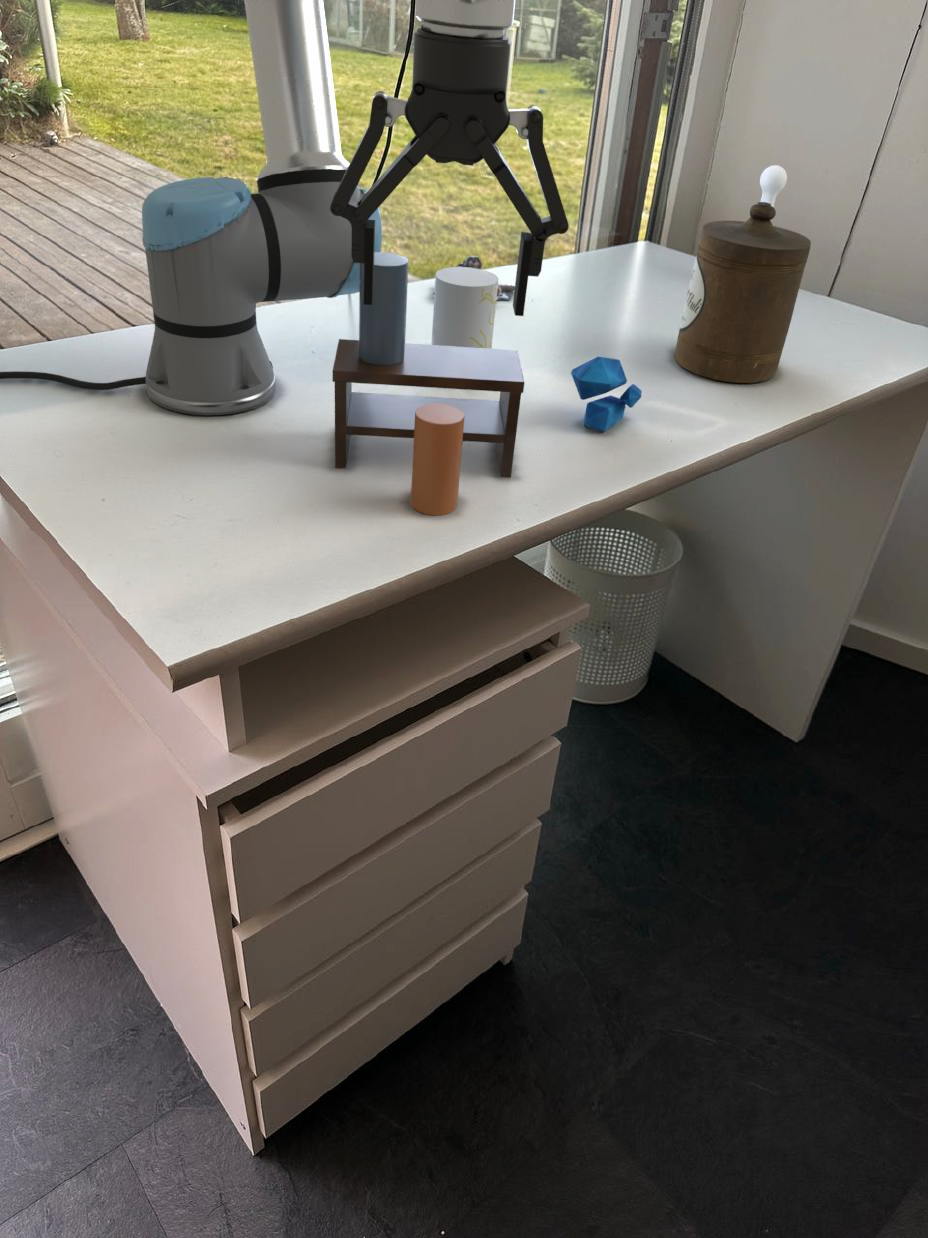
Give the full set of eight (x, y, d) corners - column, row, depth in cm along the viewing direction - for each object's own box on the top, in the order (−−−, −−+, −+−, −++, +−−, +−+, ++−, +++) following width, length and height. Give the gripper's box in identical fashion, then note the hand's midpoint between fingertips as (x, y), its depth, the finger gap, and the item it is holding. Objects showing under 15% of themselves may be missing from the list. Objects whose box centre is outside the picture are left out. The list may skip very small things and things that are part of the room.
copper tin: (410, 491, 97) (415, 401, 91) (456, 493, 97) (463, 404, 91) (410, 514, 93) (415, 422, 87) (457, 516, 93) (465, 425, 87)
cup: (483, 381, 122) (492, 289, 115) (424, 372, 123) (429, 280, 116) (494, 359, 128) (503, 272, 121) (437, 351, 129) (443, 263, 122)
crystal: (662, 364, 113) (621, 368, 103) (641, 432, 117) (600, 442, 107) (609, 348, 116) (564, 350, 107) (590, 414, 120) (546, 422, 110)
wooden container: (693, 338, 142) (728, 184, 129) (787, 362, 137) (834, 205, 124) (658, 365, 132) (692, 201, 119) (759, 393, 126) (807, 224, 113)
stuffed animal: (414, 288, 147) (453, 233, 150) (433, 330, 156) (469, 277, 158) (475, 305, 142) (513, 248, 145) (490, 347, 150) (526, 292, 153)
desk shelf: (333, 467, 99) (332, 370, 93) (339, 431, 106) (338, 338, 100) (512, 477, 101) (524, 382, 94) (506, 441, 108) (517, 350, 101)
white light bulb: (778, 291, 166) (812, 171, 154) (755, 297, 162) (787, 174, 150) (728, 274, 172) (757, 157, 161) (704, 280, 168) (731, 160, 156)
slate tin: (357, 363, 95) (358, 264, 89) (360, 347, 98) (361, 250, 92) (404, 366, 95) (408, 267, 89) (404, 349, 99) (408, 253, 93)
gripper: (293, 17, 66) (300, 309, 79) (631, 50, 68) (584, 329, 81) (304, 8, 72) (309, 281, 85) (615, 39, 74) (573, 301, 87)
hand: (443, 305), depth 83 cm, fingers open, 13 cm apart
